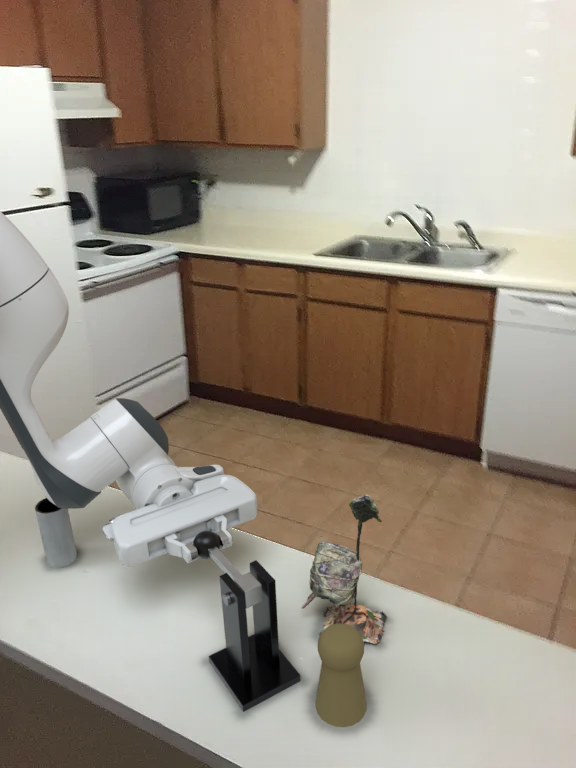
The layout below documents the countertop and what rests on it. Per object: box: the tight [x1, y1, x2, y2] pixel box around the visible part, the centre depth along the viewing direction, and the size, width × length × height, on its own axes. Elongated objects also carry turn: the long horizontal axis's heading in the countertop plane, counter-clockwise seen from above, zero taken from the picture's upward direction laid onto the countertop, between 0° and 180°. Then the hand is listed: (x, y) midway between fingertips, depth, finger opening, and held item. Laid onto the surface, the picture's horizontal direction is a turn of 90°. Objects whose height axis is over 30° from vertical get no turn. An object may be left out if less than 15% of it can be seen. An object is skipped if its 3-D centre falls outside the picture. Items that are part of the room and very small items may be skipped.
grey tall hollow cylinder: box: [34, 497, 78, 569], centre depth 102 cm, size 4×4×10 cm
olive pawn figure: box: [314, 623, 367, 728], centre depth 76 cm, size 6×6×11 cm
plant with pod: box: [301, 494, 388, 645], centre depth 86 cm, size 8×11×20 cm
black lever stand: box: [208, 559, 302, 713], centre depth 80 cm, size 9×8×15 cm
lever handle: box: [193, 530, 263, 610], centre depth 82 cm, size 14×4×4 cm, turn 32°
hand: (210, 549), depth 86 cm, fingers closed on lever handle, 3 cm apart
